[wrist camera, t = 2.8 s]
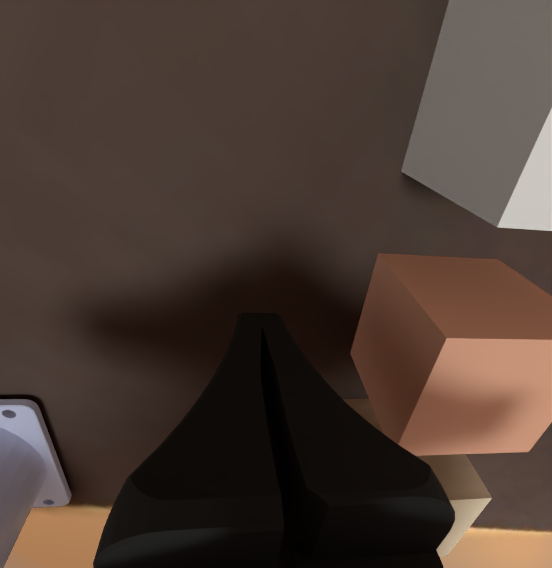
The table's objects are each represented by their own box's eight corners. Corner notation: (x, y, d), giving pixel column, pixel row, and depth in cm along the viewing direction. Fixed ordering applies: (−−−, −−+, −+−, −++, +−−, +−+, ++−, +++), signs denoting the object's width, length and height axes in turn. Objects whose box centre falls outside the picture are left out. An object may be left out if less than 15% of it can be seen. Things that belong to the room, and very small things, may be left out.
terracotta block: (349, 352, 15) (392, 456, 11) (377, 252, 13) (446, 338, 9) (451, 353, 16) (528, 452, 12) (496, 258, 14) (615, 340, 9)
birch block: (320, 457, 20) (343, 563, 15) (336, 397, 17) (370, 504, 13) (402, 454, 20) (447, 555, 16) (430, 396, 18) (492, 498, 13)
